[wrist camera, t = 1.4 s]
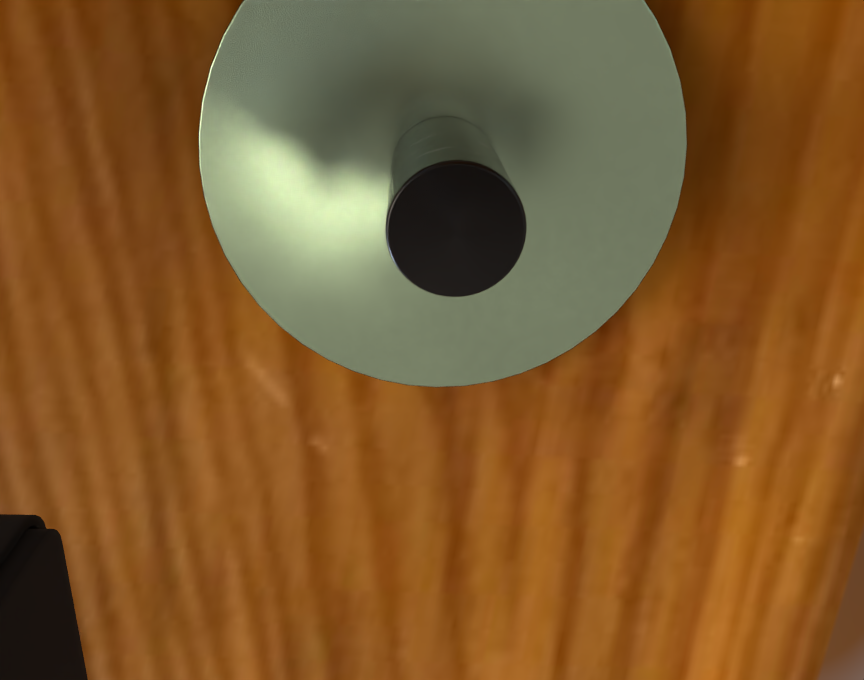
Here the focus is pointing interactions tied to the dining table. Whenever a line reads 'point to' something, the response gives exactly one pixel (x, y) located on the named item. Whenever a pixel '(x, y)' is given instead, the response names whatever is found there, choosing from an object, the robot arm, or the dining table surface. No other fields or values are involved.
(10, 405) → the dining table surface
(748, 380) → the dining table surface
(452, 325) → the lid
